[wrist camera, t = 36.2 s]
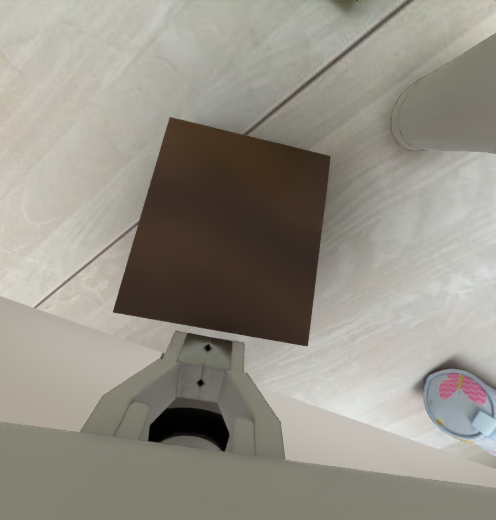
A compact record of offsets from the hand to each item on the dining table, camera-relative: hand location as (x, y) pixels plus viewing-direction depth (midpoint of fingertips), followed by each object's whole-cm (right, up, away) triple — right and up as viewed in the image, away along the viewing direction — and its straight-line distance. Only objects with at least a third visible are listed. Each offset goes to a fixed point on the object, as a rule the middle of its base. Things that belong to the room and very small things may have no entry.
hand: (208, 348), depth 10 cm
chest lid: (+1, +6, +7) cm, 9 cm away
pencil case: (+37, -18, +28) cm, 50 cm away
